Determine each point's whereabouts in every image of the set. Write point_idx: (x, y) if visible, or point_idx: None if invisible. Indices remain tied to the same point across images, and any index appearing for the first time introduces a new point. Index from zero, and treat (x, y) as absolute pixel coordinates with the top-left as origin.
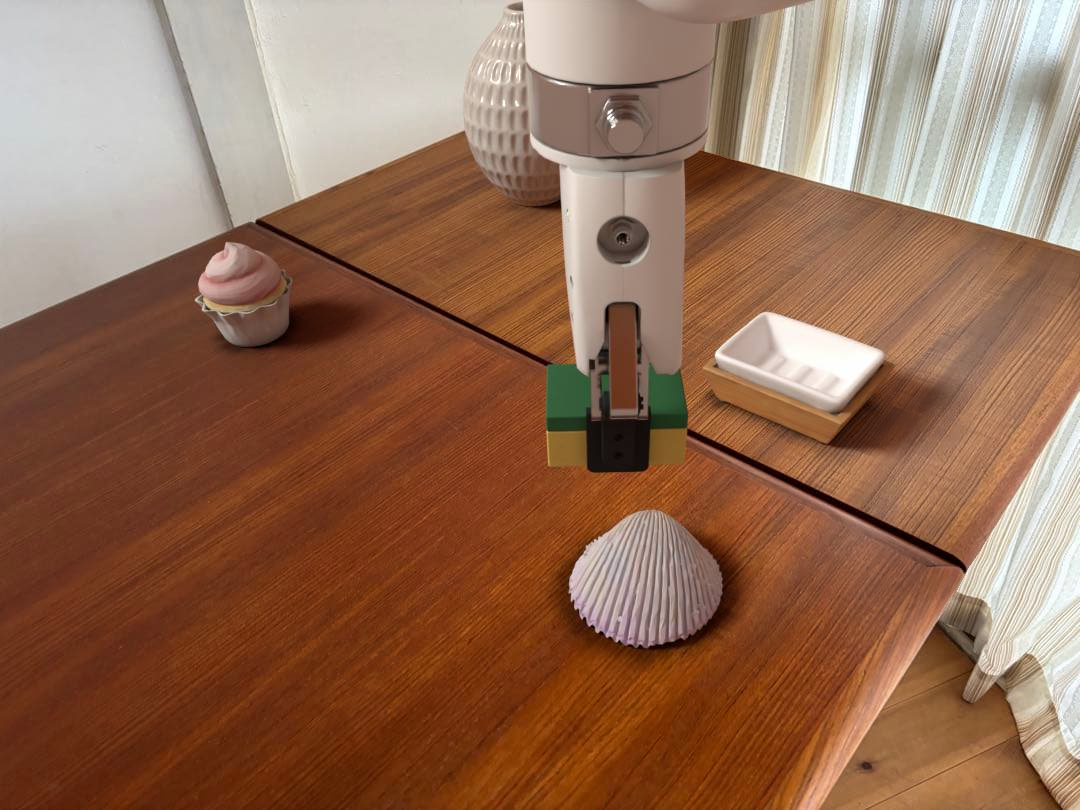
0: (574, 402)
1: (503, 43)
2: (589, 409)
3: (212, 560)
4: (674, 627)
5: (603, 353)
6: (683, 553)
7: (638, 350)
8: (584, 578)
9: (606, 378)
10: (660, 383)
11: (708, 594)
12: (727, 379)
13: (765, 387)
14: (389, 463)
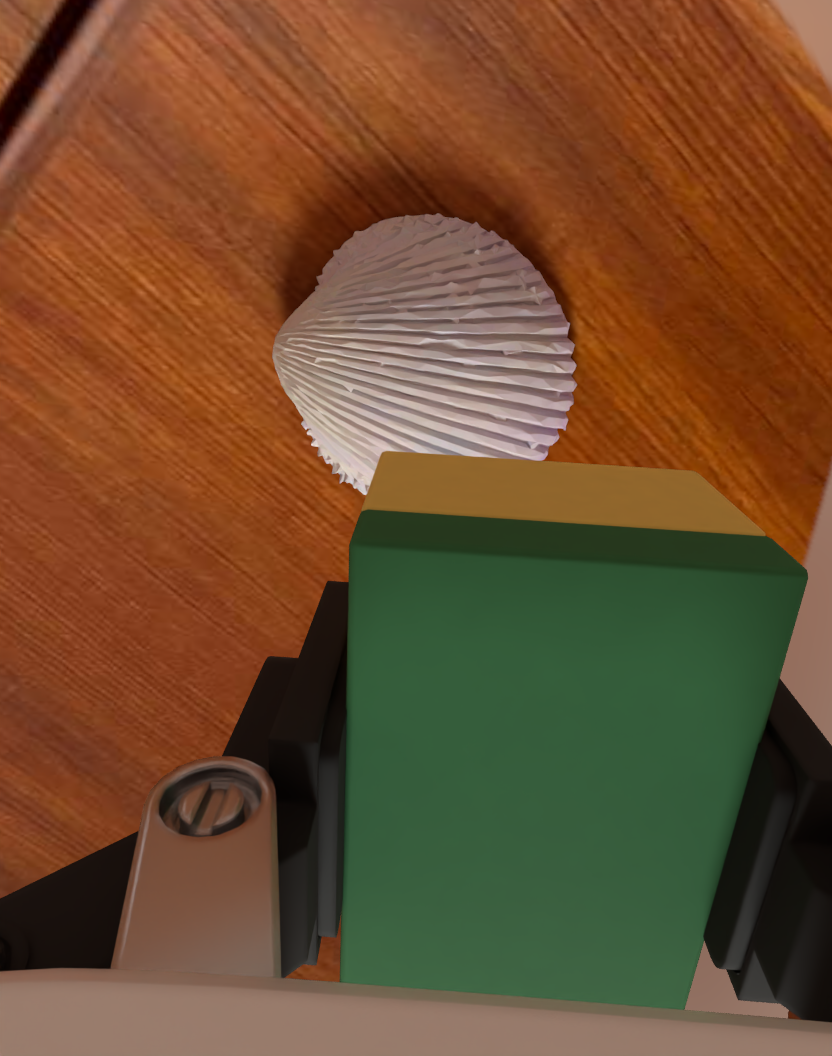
0: (609, 970)
1: None
2: (760, 992)
3: (333, 976)
4: (562, 343)
5: (326, 888)
6: (427, 309)
7: (320, 758)
8: None
9: (463, 855)
10: (540, 657)
11: (495, 259)
12: None
13: None
14: (119, 787)
